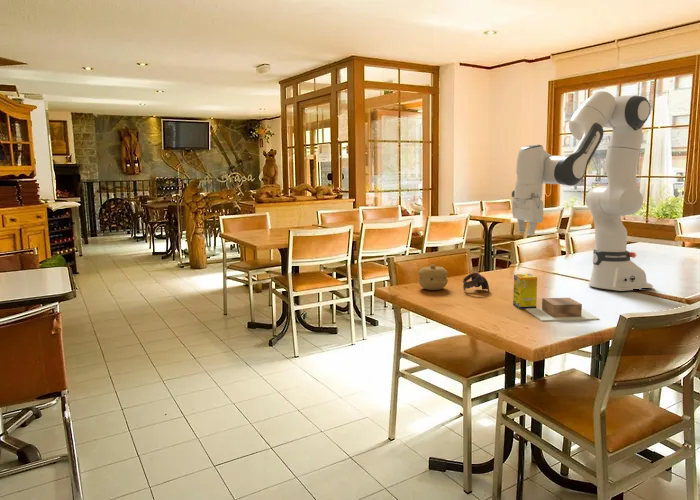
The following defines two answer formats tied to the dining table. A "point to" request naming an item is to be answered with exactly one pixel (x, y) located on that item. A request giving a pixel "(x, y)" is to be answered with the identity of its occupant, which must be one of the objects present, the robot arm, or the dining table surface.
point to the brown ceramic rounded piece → (475, 281)
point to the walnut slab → (561, 307)
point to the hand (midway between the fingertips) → (526, 233)
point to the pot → (433, 277)
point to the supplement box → (525, 291)
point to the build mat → (546, 317)
